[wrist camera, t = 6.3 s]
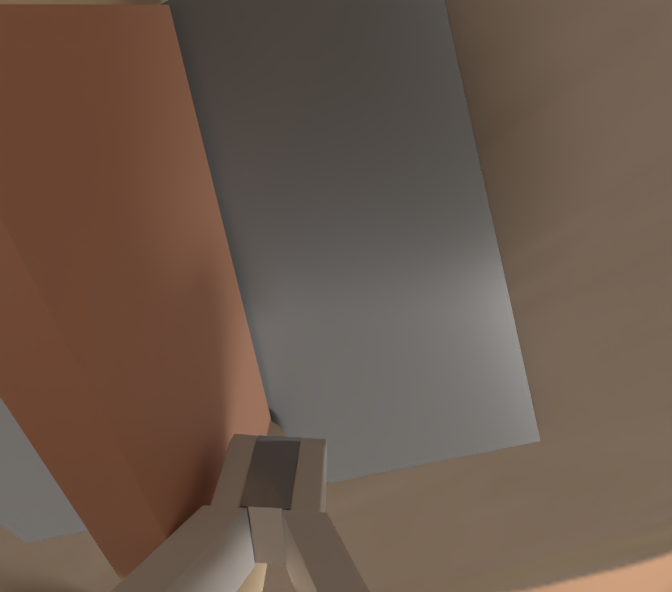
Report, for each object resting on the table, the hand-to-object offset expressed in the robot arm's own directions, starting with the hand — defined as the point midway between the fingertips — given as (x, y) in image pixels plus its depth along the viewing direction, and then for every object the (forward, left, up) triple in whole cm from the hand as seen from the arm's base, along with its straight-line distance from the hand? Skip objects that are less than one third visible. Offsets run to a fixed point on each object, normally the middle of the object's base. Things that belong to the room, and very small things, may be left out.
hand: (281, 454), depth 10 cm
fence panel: (+1, -2, -4) cm, 4 cm away
